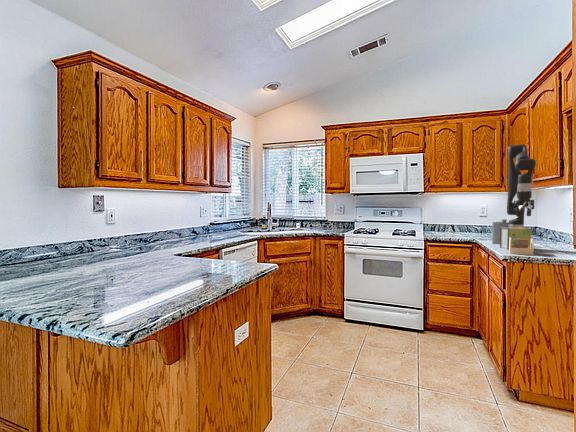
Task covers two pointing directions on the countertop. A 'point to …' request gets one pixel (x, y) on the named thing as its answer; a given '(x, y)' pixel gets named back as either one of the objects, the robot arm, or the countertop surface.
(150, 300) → the countertop surface
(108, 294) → the countertop surface
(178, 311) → the countertop surface
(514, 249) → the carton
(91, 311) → the countertop surface
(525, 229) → the protein box
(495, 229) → the hip flask
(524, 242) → the walnut block
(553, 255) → the mat
